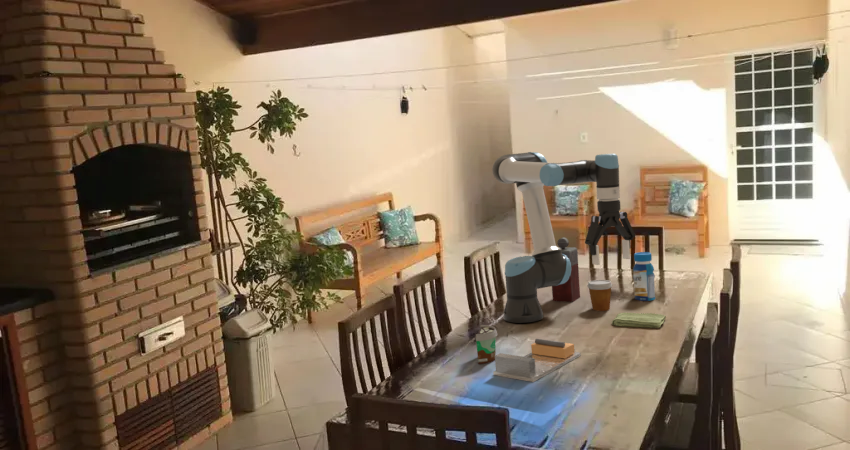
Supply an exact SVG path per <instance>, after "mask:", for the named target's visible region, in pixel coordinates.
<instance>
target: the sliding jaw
mask: <svg viewBox="0 0 850 450" xmlns="http://www.w3.org/2000/svg"><path fill="white" fill-rule="evenodd" d="M530 346H531V353H532V354H538V355H545V356H552V357H558V358H567V357H569V356H571V355H572V354H574V352H575V344H574V343H569V342H565V341H557V340H556V341H555V340H548V339H544V338H543V339H540V338H535V340H534V343H531V344H530Z"/></svg>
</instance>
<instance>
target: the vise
mask: <svg viewBox="0 0 850 450" xmlns="http://www.w3.org/2000/svg"><path fill="white" fill-rule="evenodd" d="M581 353H582V352H579V351H574V354H572V355H571V356H569V357H567V358H558V357H552V356H545V355H538V354H532V352H530V353H528V354H526V355H524V356H522V355H521V356H520V355H515V354H507V353H501V352H500V353H498V354H496V356H495V361H494V363H495V364H494V365H495V370H493V373H492V374H493V376H498V377H503V378H509V379H515V380H521V381H527V382H531V383H535V382H536V381H538V380H540V379H542V378H544V377H546V376H547V375H549V374H551V373H552V372H555V370H558V369H560V368H562V367H563V366H565V365H567V364H569V363H570V362H572V361H574V360H576V359H577V358H579V357H581V355H582V354H581Z"/></svg>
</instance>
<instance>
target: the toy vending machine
mask: <svg viewBox="0 0 850 450" xmlns="http://www.w3.org/2000/svg"><path fill="white" fill-rule="evenodd" d="M569 244H570V242H569V239H568V238H567V237H561V238H559V239H558V240H557V247H558V248H560V249H561V252H562V254H564V255H566V256H567V257H568V258H569V260H570V263H571V274H570V276H569V279H568V281H567V282H565V283H564V284H560V285H558V286H551V295H552V302H564V303H565V302H567V303H574V302H575V301H577V300H579V299H580V298H581V292H580V291H581V290H580V286H581V285H580V273H579V272H580V271H579V254H578V248H577V247H568V246H569Z"/></svg>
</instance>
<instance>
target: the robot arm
mask: <svg viewBox="0 0 850 450" xmlns="http://www.w3.org/2000/svg"><path fill="white" fill-rule="evenodd" d="M491 173H492V176H493V177H494V179H495V180H496V181H497V182H499V183H501V184H505V185H506V184H508V185H509V184H510V185H511V184H516V190H518V191H520V192H521V194H522V200H523V203H524V204H523V205H524V208H525V213H526V217H527V222H528V225H529V226H528V227H529V231H530V235H531V240H532V245H533V249H534V250H533V252H532V254H531V255H523V256H517V257H514V258H511V259H509V260H507V261H506V262H505V264H504V276H505V277H504V279H505V289H506V302H505V305H504V306H505V307H504V311H503V320H504V321H506V322H509V323H515V324H516V323H517V324H518V323H519V324H522V323H525V324H527V323H533V322H534V323H535V322H538V321H540V320H541V321H542V319H544V311H543V309H542V306H541V303H540V301H539V297H538V289H545V288H550V287H551V288H552V286H558V285H560V284H564V283H565V282H567V281H568V279H569V276H570V274H571V263H570V260H569V258H568V257H567V256H566V255H564V254H562V252H561V249H560V248H558V247H559V246H558V245H556V239H555V235H554V234H555V233H554V230H553V225H552V222H551V218H550V212H549V207H548V204H547V203H548V202H547V199H546V196H545V191H544V186H546V187H557V186H562V185H572V184H574V185H575V184H583V183H596V184H595V185H596V199H597V200H598V201H597V202H596V203H597V211H598V215H591V217H590V219H591V220H590V225H589V227H588V228H589V229H588V231H587V233H586V234H587V235H586V237H585V241H584V244H585V245H588V246H589V247H590V255H591V259H592V260H591V261H592V265H595V266H599V265H601V264H600V246H599V245H598V243H599V241H600V239H601V237H602V236H603V234H604V232H605V230H607V229H608V228H615V229H616V231H617V232H618V233H619V234H620V235H621V237H622V238H623V239H622V240H621V246H622V247H621V248H622V259H624V260H630V259H631V247H632V246H631V245H632V244H631V241H633V239H634V238H635V237H636V234H635V232H634V229H633V227H632V225H631V223H630V220H629V218H628V212H627V211H621V200H620V197H621V194H620V192H621V189H620V165H619V156H618V155H617V154H616V153H603V154H602V153H601V154H596V155H595V158H594V160H591V159H590V160H589V159H581V160H577V161H569V162H548V160H547V158H546V157H545V156H544V155H543V154H541V153H540V152H534V151H533V152H531V151H528V152H520V153H510V154H509V153H508V154H504V155H501V156H499V157H498V158H497V159H495V161H494V162H493V164H492V167H491Z"/></svg>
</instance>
